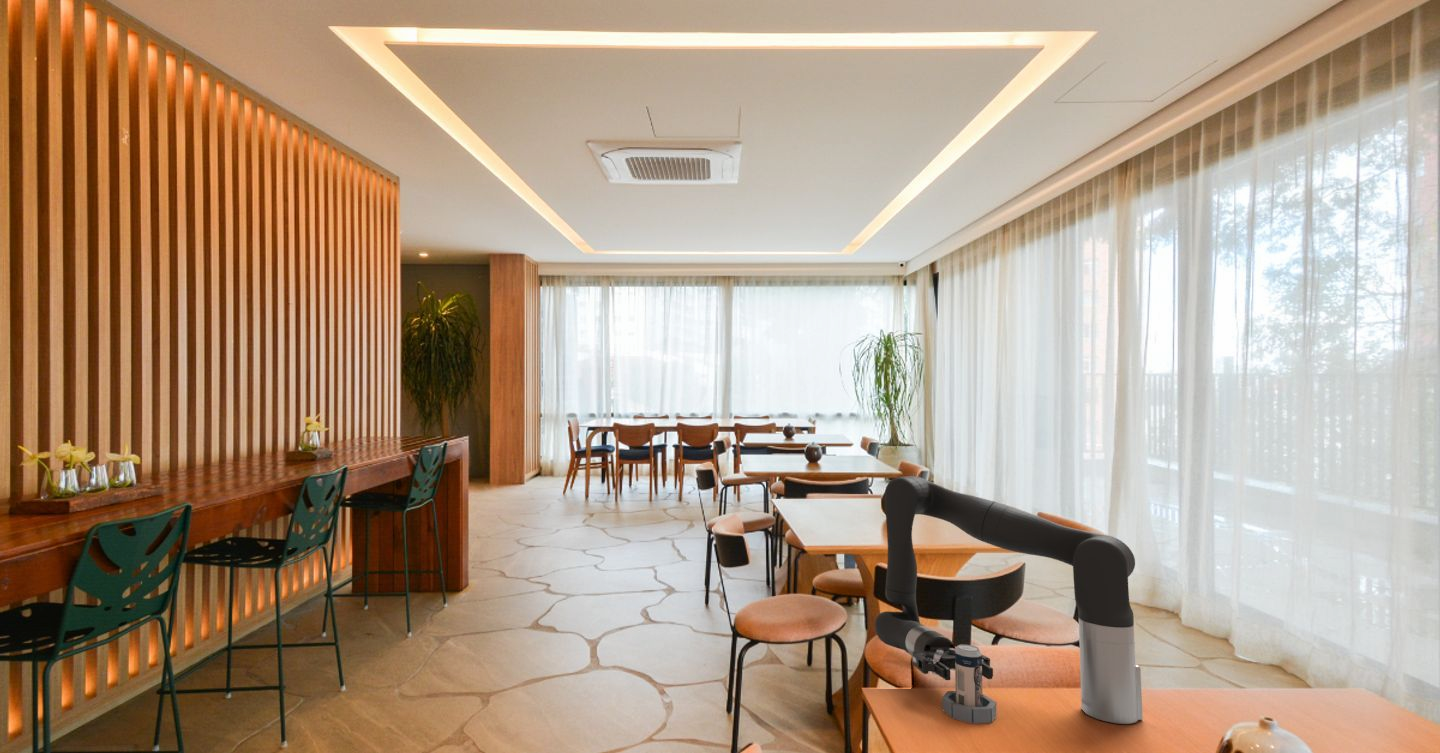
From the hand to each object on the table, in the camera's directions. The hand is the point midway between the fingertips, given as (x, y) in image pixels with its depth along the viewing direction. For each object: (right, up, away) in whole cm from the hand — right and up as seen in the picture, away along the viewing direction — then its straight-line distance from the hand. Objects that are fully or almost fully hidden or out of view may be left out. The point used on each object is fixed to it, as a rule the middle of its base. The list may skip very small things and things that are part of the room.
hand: (969, 674), depth 123 cm
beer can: (0, -7, 0) cm, 7 cm away
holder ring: (0, -7, 0) cm, 7 cm away
